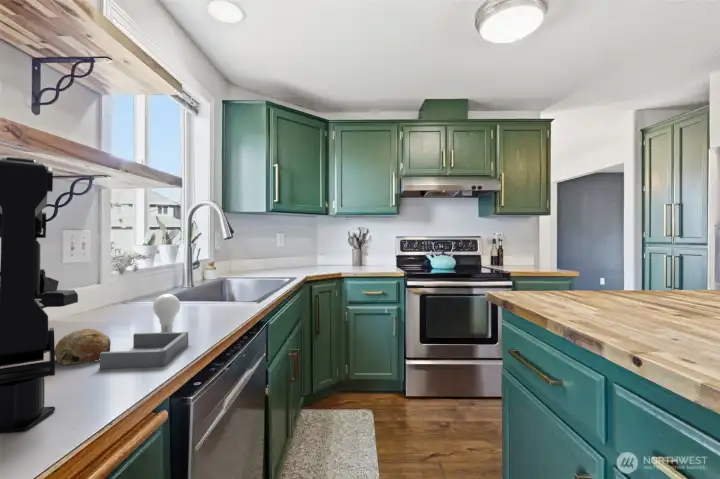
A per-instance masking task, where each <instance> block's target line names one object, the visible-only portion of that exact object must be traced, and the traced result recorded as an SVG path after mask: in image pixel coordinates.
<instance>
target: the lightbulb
mask: <svg viewBox="0 0 720 479" xmlns="http://www.w3.org/2000/svg"><path fill="white" fill-rule="evenodd" d="M180 308H181V302H180V300H179V298H178V297H177V296H176V295H174V294H172V293H164V294H161V295H160V296H158V297H157V298H156V299H154V301H153V304H152V310H153V312H154V314H155V316H156V317H157V318H158V320H159V323H160V333H167V332H173V323H174V320H175V318H176V316H177V314H178V313H179V311H180Z"/></svg>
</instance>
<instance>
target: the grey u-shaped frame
mask: <svg viewBox="0 0 720 479" xmlns="http://www.w3.org/2000/svg"><path fill="white" fill-rule="evenodd" d="M132 342H133V348H140V347H141V348H144V347H143V346H150V347H163V348H162V349H161V350H160V349H159V350H156V349H155V350H127V351H126V350H123V351H121V350H120V351H118V350H117V351H110V352H101V353H100V360H99V369H100V368H103V369H128V368H155V367H156V368H157V367H160V368H161V367H165V366H166V365H168V364H169V363H170V362H171V361H172V360H173V359H174V358H175V357H176V356H177V355H178V354H179V353H181V352H182V351H183V350H184V349H185V348H186V347H187V346H188V345H189V331H179V332H176V331H175V332H173V331H172V332H167V333H161V332H135V333H133V341H132Z"/></svg>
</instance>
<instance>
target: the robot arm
mask: <svg viewBox="0 0 720 479" xmlns="http://www.w3.org/2000/svg"><path fill="white" fill-rule="evenodd" d="M53 176H54V174H53V167H52V166H49V165H46V164H44V163H42V162H41V163H40V161H36V160H35V159H31V158H24V157H23V158H22V157H15V156H7V157H2V158H0V433H6V432H7V433H8V432H22V431H26V430H29V429H30V428H32V426H34V425H36V424H37V423H39V422H40V421H42V420H43V419H45V418H46V417H47V416H49V415H50V414H51V413H53V412H54V411H56V406H45V378H46V377H53V376H55V375H56V357H55V347H56V345H55V328H54V327H49V315H48V313H46V311H45V310H44V309H45V308H56V307H57V308H59V307H67V306H69V305H73V304H75V303H78V302H79V294H78V292H76V291H75V290H76V289H75V290H74V289H62V290H61V289H60V290H59V289H58V286H59V282H60V281H59V280H57V279H54V278H51V277H47V276H46V271H45V269H44V268H43V269H42V268H41V243H40V242H39V241H38V239H46V236H47V212H45V211H43V209H44V208H45V207H46V206H47V204H48V192H49V193H50V192H51V193H53V187H54V185H53V184H54V183H53V181H54V180H53V178H54V177H53ZM46 353H48V360H46V361H45V360H44V359H45V356H44V354H46ZM7 366H8V367H7ZM1 367H2V368H1Z"/></svg>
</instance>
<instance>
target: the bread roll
mask: <svg viewBox="0 0 720 479" xmlns="http://www.w3.org/2000/svg"><path fill="white" fill-rule="evenodd" d="M101 352H111V339H110V338H109V336H107V335H106V334H105V333H103V332H102V331H100V330H96V329H93V328H83V329H79V330H75V331H72V332H71V333H69V334H66V335H65V336H63V337H62V338H60V340H58V342H57V343H56V345H55V361H56V362H57V363H58V364H60V363H63V364H69V365H79V364H78V363H81V364H85V363H84V362H90V363H92V362H91V361H95V360H99V359H100V353H101ZM99 361H100V360H99ZM95 362H96V361H95ZM63 364H62V365H63Z"/></svg>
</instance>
